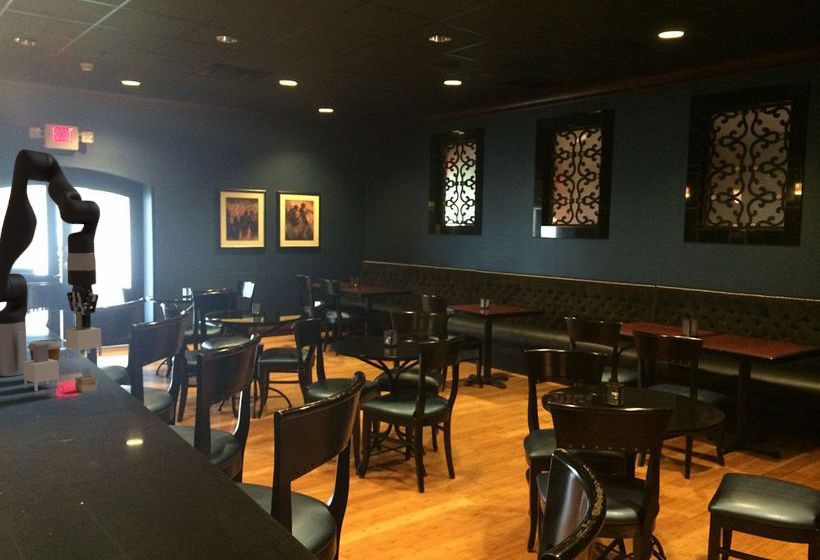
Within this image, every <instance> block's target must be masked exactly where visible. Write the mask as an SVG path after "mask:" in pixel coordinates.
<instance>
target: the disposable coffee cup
mask: <svg viewBox="0 0 820 560" xmlns="http://www.w3.org/2000/svg"><path fill="white" fill-rule="evenodd" d="M37 344H47V345H48V359H52V360H57V361H60V352H61V347H62V343H61V341H60V340H59V339H41V340H40V339H39V340H32V341H30V342H29V343H28V346H27V348H28V350H29V354H30V355H29V356H30V359H31V360H30V361H33V345H37Z"/></svg>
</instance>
